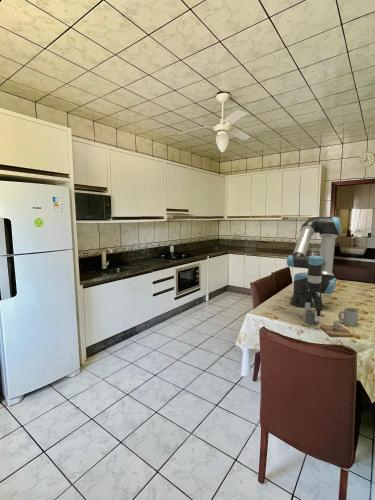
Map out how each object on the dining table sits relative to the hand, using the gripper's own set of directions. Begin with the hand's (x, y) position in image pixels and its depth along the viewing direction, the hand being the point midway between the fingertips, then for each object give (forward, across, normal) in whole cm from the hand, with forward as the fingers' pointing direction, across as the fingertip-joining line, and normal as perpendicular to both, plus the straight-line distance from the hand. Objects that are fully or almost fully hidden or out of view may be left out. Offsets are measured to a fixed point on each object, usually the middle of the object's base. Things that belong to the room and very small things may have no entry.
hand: (312, 316), depth 155 cm
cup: (+4, 0, +21) cm, 21 cm away
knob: (+4, 0, 0) cm, 4 cm away
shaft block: (+4, +12, +8) cm, 15 cm away
